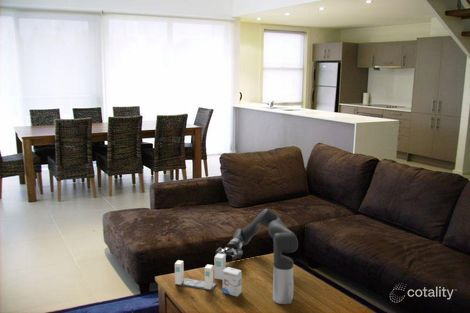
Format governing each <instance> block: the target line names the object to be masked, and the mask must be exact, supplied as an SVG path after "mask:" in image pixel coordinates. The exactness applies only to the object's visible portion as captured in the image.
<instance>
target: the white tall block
mask: <svg viewBox="0 0 470 313" xmlns="http://www.w3.org/2000/svg"><path fill="white" fill-rule="evenodd" d="M226 258H227V255H226V254H225V253H224V254H222V253H221V254H219V253H218V254H217V255H216V254H215V256H214V259H213V260H214V261H213V262H214V265H213V279H214V278H215V279H216V280H222V281H223V272H222V271H223V270H224V269H225V268H226V267H227V266H226V265H227V260H226ZM215 279H214V280H215Z"/></svg>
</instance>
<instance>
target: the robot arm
mask: <svg viewBox="0 0 470 313" xmlns="http://www.w3.org/2000/svg"><path fill="white" fill-rule="evenodd" d="M260 224H261V225H262V226H264V227H266V228H267V232H268V234H269V236H270V238H272V240H273V242H272V243H273V274H272V276H273V277H272V279H273V280H272V284H273V285H272V301H273V302H274V303H276V304H280V305H291V304H292V302H293V299H294V282H295V280H294V260H293V259H292V258H291V257H289V256H287V255H284V254H285V253H286V254H289V253H294V252H296V251H297V249H298V248H299V240H298V238H297V234H295V233H294V232H293V231H292V230H290V229H289V228H288V226H287V225H285V223H284V222H283V221H282V220H281V218H280V216H279V215H278V214H277V213H276V212H274V210H271V209H269V208H264V209H263V210H262V211H260V213H258V215H256V217H255V218H254V219H253V220H252V221H251V223H250V224H248V225H247V226H245V227H244V228H241V227H240V228H237V229H236V230H235V231H234V232H233V236H232V239H231V240H230V241H229V242H228V243H227V245H225V247H224V248H222V247H221V246H219V247H218V248H217V249H216V250H215V256H216V255H217V254H218V253H219V254H226V256H231V261H235V260H236V259H237V258H238V259H241V257H242V256H243V249H242V247H243V246H247V244H249V242H250V241H251V239H253V237H255V235H257V234H258V233H259V231H260Z"/></svg>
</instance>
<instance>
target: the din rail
mask: <svg viewBox="0 0 470 313" xmlns="http://www.w3.org/2000/svg"><path fill="white" fill-rule="evenodd" d="M174 284H175V283H174ZM175 285H176V286H182V287H188V288H196V289H200V290H201V289H202V290H207V291H213V290H214V289H215V288H216V286H217V283H216V282H213V287H212V288H211V289H205V280H198V279H191V278H185V277H184V282H183V283H182V284H181V285H180V284H175Z"/></svg>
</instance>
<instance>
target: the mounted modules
mask: <svg viewBox="0 0 470 313" xmlns="http://www.w3.org/2000/svg"><path fill="white" fill-rule="evenodd" d="M184 266H185V265H184V260H179V259H178V260H176V262H175V263H174V284H180V285H179V286H181V284H182V283H183V282H184V278H185V271H184V270H185V268H184ZM204 281H205V289H204V290H206V289H211V288H212V287H213V283H214V265H213V264H206V265H205V267H204Z"/></svg>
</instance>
